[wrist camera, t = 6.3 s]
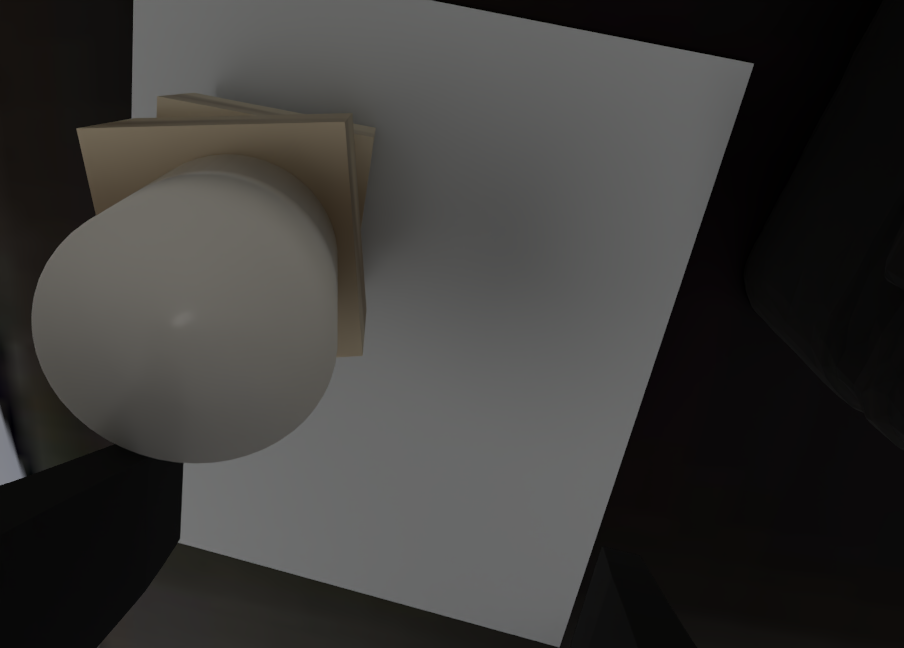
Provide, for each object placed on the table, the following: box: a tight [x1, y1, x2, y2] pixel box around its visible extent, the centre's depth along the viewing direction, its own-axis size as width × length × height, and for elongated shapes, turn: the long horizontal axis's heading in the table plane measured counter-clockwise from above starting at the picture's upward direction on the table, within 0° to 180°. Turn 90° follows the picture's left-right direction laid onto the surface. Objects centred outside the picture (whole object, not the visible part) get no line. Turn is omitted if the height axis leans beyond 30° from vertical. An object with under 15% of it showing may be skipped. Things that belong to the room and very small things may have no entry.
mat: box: [132, 0, 754, 647], centre depth 20 cm, size 20×17×1 cm
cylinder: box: [31, 154, 338, 463], centre depth 11 cm, size 4×4×4 cm
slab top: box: [76, 113, 367, 357], centre depth 14 cm, size 5×5×3 cm
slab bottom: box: [156, 93, 376, 226], centre depth 17 cm, size 5×5×3 cm
